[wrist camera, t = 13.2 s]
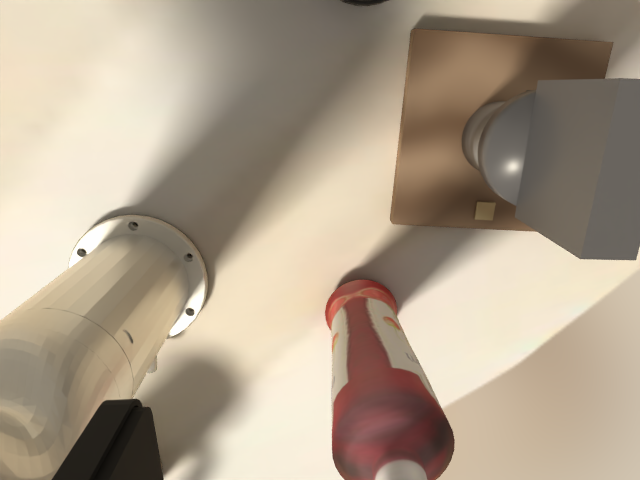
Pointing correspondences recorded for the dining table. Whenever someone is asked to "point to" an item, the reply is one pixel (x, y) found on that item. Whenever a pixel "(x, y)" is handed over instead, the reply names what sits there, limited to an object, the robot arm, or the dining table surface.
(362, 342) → the red sauce bottle
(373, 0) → the french press
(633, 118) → the lever handle
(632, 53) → the dining table surface
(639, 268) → the dining table surface
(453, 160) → the post mount
